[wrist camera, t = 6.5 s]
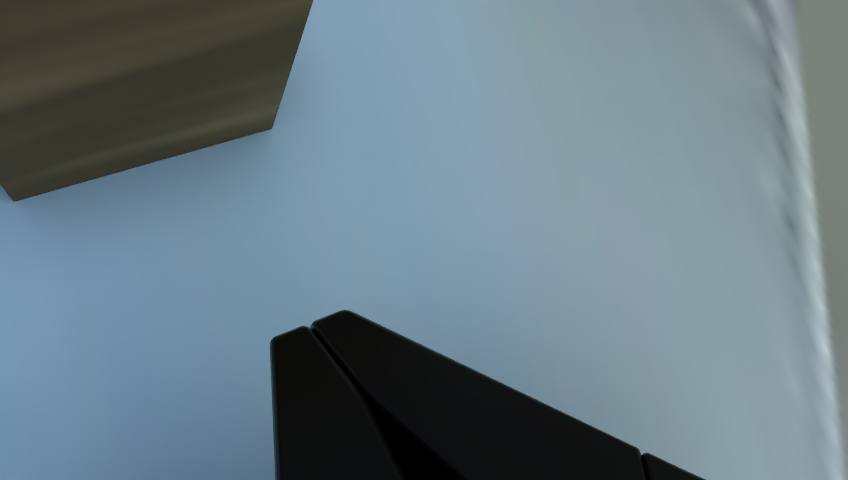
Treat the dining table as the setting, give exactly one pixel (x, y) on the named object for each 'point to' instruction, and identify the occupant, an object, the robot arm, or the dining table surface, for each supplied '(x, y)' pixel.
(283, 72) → the dot tablet
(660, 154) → the dining table surface
